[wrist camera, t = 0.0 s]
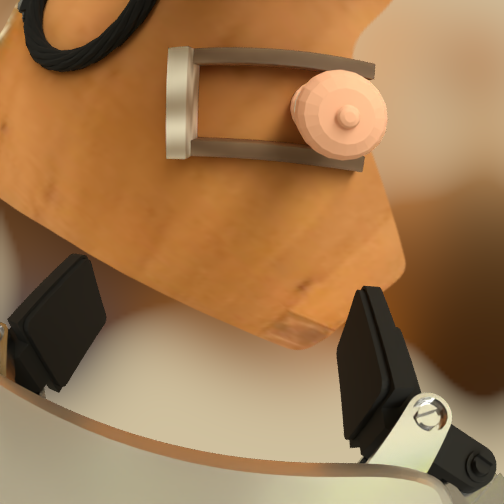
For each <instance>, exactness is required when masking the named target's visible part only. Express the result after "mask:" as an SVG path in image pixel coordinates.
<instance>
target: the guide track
mask: <svg viewBox="0 0 504 504" xmlns="http://www.w3.org/2000/svg"><path fill="white" fill-rule="evenodd" d="M210 65H241V66H265V67H280V68H291V69H300V70H309V71H317V72H325V71H331V70H345V71H350V72H354V73H357V74H358V75H360V76H362V77H364V78H365V79H367V80H372V79H374V75H375V64H372V63H368V62H364V61H359V60H354V59H349V58H344V57H338V56H332V55H326V54H319V53H311V52H303V51H294V50H283V49H268V48H239V47H225V48H196V49H194V48H191V47H189V46H184V47H173V48H168V63H167V87H166V159H186V158H188V157H190V156H208V157H228V158H244V159H257V160H269V161H279V162H289V163H298V164H307V165H315V166H323V167H330V168H337V169H344V170H351V171H357V172H362V171H363V165H364V159H365V157H364V156H362V157H360V158H357V159H351V160H343V161H342V160H337V159H331V158H327V157H325V156H323V155H322V154H320V153H318V152H316V151H314V150H313V149H312V148H311V147H310V146H309V145H303V144H294V143H284V142H274V141H262V140H248V139H231V138H204V137H197V128H198V94H199V71H200V66H210Z"/></svg>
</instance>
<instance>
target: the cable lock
mask: <svg viewBox="0 0 504 504" xmlns="http://www.w3.org/2000/svg"><path fill="white" fill-rule="evenodd" d="M46 1H47V0H20V2H19V3H18V10H19V12H20V13H22V15H23V17H22V19H23V22H24V34H25V41H26V46H27V48H28V50H29V52H30V55H31V57H32V58H33V59H34V61H35V62H37V63H39V64H40V65H41V66H42V67H44V68H46V69H48V70H54V71H59V72H66V71H74V70H78V69H82V68H85V67H87V66H88V65H90V64H93V63H96V62H98V61H99V60H101V59H103V58H104V57H105V56H107V55H108V54H109V53H110V52H112V51H113V50H114V49H116V48H117V47H119V46H121V45H122V44H123V43H124V42H125V41H126V40H127V39H128V37H129V36H130V35H131V34H132V33H133V32H134V31H135V30H136V28H137V27H138V26H139V25H141V24H142V23H143V21H144V20H145V18H146V17H147V15H148V14H149V12H150V11H151V9H152V8H153V6H154V4H155V3H156V1H157V0H130V1H129V3H128V4H127V6H126V8H125V9H124V10H123V12H122V13H121V14H120V16H119V17H118V18H117V20H116V21H115V22H113V23H112V24H111V25H110V26H109V27H108V28H107V29H106V30H105V31H104V32H103V33H102V34H101V35H100V36H99V37H98V38H96V39H94V40H92V41H91V42H89V43H88V44H86V45H84V46H82V47H79V48H76V49H73V50H62V51H61V50H58V49H56V48H54V47H52V46H51V45H50V44H49V43H48V42H47V40H46V39H45V36H44V33H43V29H42V17H43V9H44V7H45V4H46Z"/></svg>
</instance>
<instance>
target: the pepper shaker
mask: <svg viewBox="0 0 504 504" xmlns="http://www.w3.org/2000/svg"><path fill="white" fill-rule="evenodd" d="M290 111H291V115H292V119H293V121H294V122H295V124H296V126H297V128H298V130H299V132H300V134H301V135H302V137H303V139H304V141H305V142H306V143H307V144H308V145H309V146H310V147H311V148H312V149H313V150H314V151H316V152H318V153H320V154H322V155H323V156H325V157H327V158H331V159H337V160H342V161H343V160H351V159H357V158H360V157H362V156H364V155H366V154H368V153H370V152H371V151H372V150H373V149H374V148H375V147H377V146H378V145H379V144H380V142H381V140H382V138H383V136H384V134H385V132H386V127H387V121H388V116H387V109H386V105H385V102H384V100H383V98H382V96H381V94H380V92H379V91H378V90H377V89H376V88H375V87H374V86H373V85H372V84H371V82H370V81H369V80H367V79H365V78H364V77H362V76H360V75H358V74H357V73H354V72H350V71H345V70H331V71H325V72H323V73H321V74H318V75H316V76H314V77H312V78H311V79H310V80H309V81H308V82H307V83H306V84H304V85H302V86H301V87H300V88H299V89H298V90H297V91H296V92H295V93H294V95H293V97H292V99H291V105H290Z"/></svg>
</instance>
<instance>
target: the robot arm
mask: <svg viewBox="0 0 504 504" xmlns="http://www.w3.org/2000/svg"><path fill="white" fill-rule="evenodd" d="M8 322H9V324H10V326H11V328H10V329H8V328H7V326H6V324H4V323H2V322H0V504H504V477H503V476H502V474H501V473H499V474H498V475H496V473H495V472H496V460H495V457H494V455H493V453H492V452H491V451H490V450H489V449H488V448H487V447H485V446H484V445H482V444H480V443H479V442H477V441H476V440H474V439H473V438H471V437H470V436H468V435H467V434H465V433H464V432H462V431H461V430H459V429H458V428H456V427H455V426H453V425H452V424H451V421H452V412H451V409H450V407H449V405H448V404H447V402H446V401H445V400H444V399H443V398H441V397H440V396H438V395H435V394H433V393H421V391H420V387H419V384H418V380H417V377H416V374H415V371H414V368H413V365H412V361H411V358H410V355H409V352H408V349H407V347H406V344H405V341H404V338H403V335H402V332H401V330H400V329H399V328H398V327H395V324H394V321H393V318H392V316H391V313H390V311H389V308H388V305H387V302H386V300H385V297H384V295H383V292H382V290H381V288H380V287H373V286H363V287H362V289H361V290H357V291H356V293H355V296H354V299H353V302H352V305H351V308H350V312H349V315H348V318H347V321H346V324H345V327H344V330H343V333H342V335H341V338H340V341H339V344H338V347H337V364H338V373H339V382H340V392H341V402H342V414H343V427H344V437H345V439H346V440H350V448H355V447H356V448H357V447H360V450H361V455H363V457H362V458H361V459H360V460H359V462H358V463H301V462H284V461H272V460H260V459H251V458H242V457H235V456H227V455H221V454H215V453H209V452H204V451H199V450H193V449H189V448H184V447H180V446H176V445H172V444H168V443H164V442H160V441H156V440H152V439H149V438H145V437H142V436H139V435H135V434H132V433H129V432H126V431H123V430H120V429H116V428H114V427H111V426H108V425H106V424H103V423H100V422H97V421H95V420H92V419H90V418H87V417H85V416H82V415H80V414H78V413H75V412H73V411H71V410H68V409H66V408H64V407H62V406H60V405H57V404H55V403H53V402H51V401H49V400H47V399H46V397H45V390H44V387H45V385H47V386H48V387H49V388H50V389H52V390H54V391H56V392H60V390H61V389H62V387H63V386H66V384H67V383H68V381H69V380H70V378H71V376H72V374H73V373H74V371H75V370H76V368H77V366H78V365H79V363H80V361H81V360H82V358H83V357H84V355H85V353H86V352H87V350H88V349H89V347H90V345H91V344H92V342H93V341H94V339H95V338H96V336H97V335H98V333H99V332H100V330H101V329H102V327H103V326H104V324H105V322H106V313H105V310H104V307H103V303H102V300H101V297H100V294H99V290H98V286H97V283H96V279H95V276H94V272H93V268H92V264H91V261H90V260H88V258H87V256H85V255H80V254H71V255H70V256H69V257H68V258H66V259H65V260H64V261H63V262H62V263H61V264H60V265H59V266H58V267H57V268H56V269H55V270H54V271H53V272H52V273H51V274H50V275H49V276H48V277H47V278H46V279H45V280H44V281H43V282H42V283H41V284H40V285H39V286H38V287H37V288H36V289H35V290H34V291H33V292H32V293H31V294H30V295H29V296H28V297H27V298H26V300H24V302H23V303H22V304H21V305H20V306H19V307H18V308H17V309H16V310H15V311H14V313H13V314H12V315H11V316H10V317H9V318H8Z"/></svg>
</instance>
